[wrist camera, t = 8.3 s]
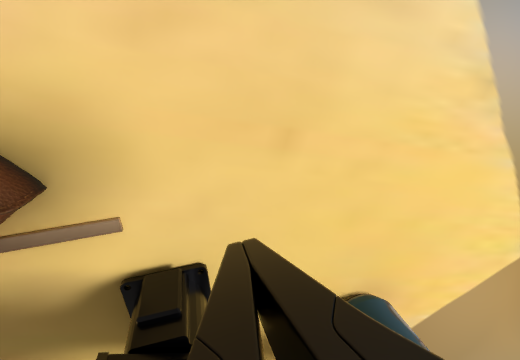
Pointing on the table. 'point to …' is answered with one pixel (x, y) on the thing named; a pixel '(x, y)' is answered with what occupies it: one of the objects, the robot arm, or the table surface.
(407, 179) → the table surface
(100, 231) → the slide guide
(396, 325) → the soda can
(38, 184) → the sunglasses case
